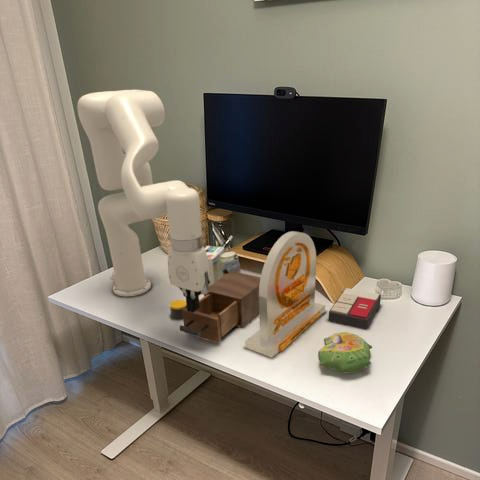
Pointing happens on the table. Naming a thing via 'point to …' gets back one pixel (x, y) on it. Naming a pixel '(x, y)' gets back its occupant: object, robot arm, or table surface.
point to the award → (286, 294)
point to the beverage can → (229, 263)
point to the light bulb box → (214, 262)
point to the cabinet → (239, 293)
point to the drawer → (211, 318)
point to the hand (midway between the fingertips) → (193, 309)
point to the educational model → (345, 353)
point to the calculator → (355, 308)
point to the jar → (177, 309)
